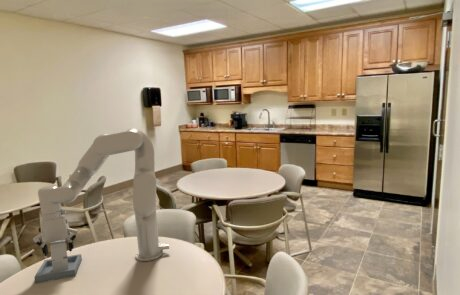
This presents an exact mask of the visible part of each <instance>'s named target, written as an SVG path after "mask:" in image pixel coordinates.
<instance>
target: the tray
mask: <svg viewBox="0 0 460 295" xmlns="http://www.w3.org/2000/svg"><path fill="white" fill-rule="evenodd" d="M67 259H68V269H66V270H62V271H56V272H53V267H52V259H51V258H50V259H45V260H44V261H43V263H42V264H41V265H40V267H39V269H38V270H37V272H36V274H35V276H33V277H34V283H35V284H36V285H37V284H41V283H46V282H51V281H56V280H62V279H68V278H73V277H77V275H78V274H77V273H78V271H79V268H80V267H81V264H82V261H83V258H82V253H79V254H73V255H67Z"/></svg>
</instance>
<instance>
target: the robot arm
mask: <svg viewBox="0 0 460 295" xmlns="http://www.w3.org/2000/svg"><path fill="white" fill-rule="evenodd" d="M132 151H134V174H133V179H132V181H133V182H132V186H133V189H132V210H133V213H134V220H135V228H136V241H137V251H136V252H135V259H136V260H137V261H140V262H151V261H154V260H156V259H159V258H160V257H161V256H162V255H163V254H164V251H165V250H170V245H169V244H167V243H160V240H159V230H158V218H157V207H156V206H157V177H156V173H155V162H156V161H155V148H154V143H153V142H152V140H151V138H150V137H149V135H147V134H146V133H145V132H143V131H142V130H140V129H137V128H128V129H127V130H125V131H122V132H117V133H111V134H110V133H102V134H99V135H98V136H96V137H95V139H94V140H93V142H92V143H91V145H90V147H88V149H87V151H86V152H85V153H84V154H83V155H82V157H81V158H80V160H79V162H78V164H77V166H76V169H75V170H74V171H73V172H72V174H71V175H70V176H69V178H68V179H67V180H66V182H65V183H64V184H63V185H60V186H59V187H58V186H57V185H47V186H46V185H45V186H43V187H41V188H39V189H38V190H37V196H38V201H39V206H40V211H41V212H40V213H41V219H40V220H41V221H40V233H39V234H37V235H36V236H34V237H33V238H32V241H33V242H34V243H35V244H36V245H37V246H39V247H40V248H41V251H42V254H43V255H44V257H47V256H48V254H49V247H48V244H47V243H52V242H56V241H61V240H65V241H67V242H68V243H67V244H68V251H69V252H72V251H73V249H74V248H75V247H74V246H75V244H74V240H75V239H76V237H77V236H78V233H79V230H78V229H75V228H71V227H70V226H69V223H68V218H67V216H66V214H67V210H63V208H62V204H70V203H72V202H74V201H75V200H76V199H77V198H78V196H79V194H81V192H82V190H83V189H84V188H85V187H86V185H87V184H88V182H89V181H90V180H91V179H92V177H93V176H94V175H95V174H97V173H98V172H99V170H100V169H101V168H102V166H103V165H104V163H105V162H106V161H107V160H108V158H109V157H110V156H113V155H118V154H123V153H128V152H132ZM71 233H72V234H73V235H72V236H71ZM40 239H41V240H40Z"/></svg>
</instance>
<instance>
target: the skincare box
mask: <svg viewBox="0 0 460 295" xmlns="http://www.w3.org/2000/svg"><path fill="white" fill-rule="evenodd" d="M49 250H50V259H52V267H53V272H56V271H62V270H66V269H68V259H67V256H68V253H67V243H66V239H65V240H60V241H54V242H49Z"/></svg>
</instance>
